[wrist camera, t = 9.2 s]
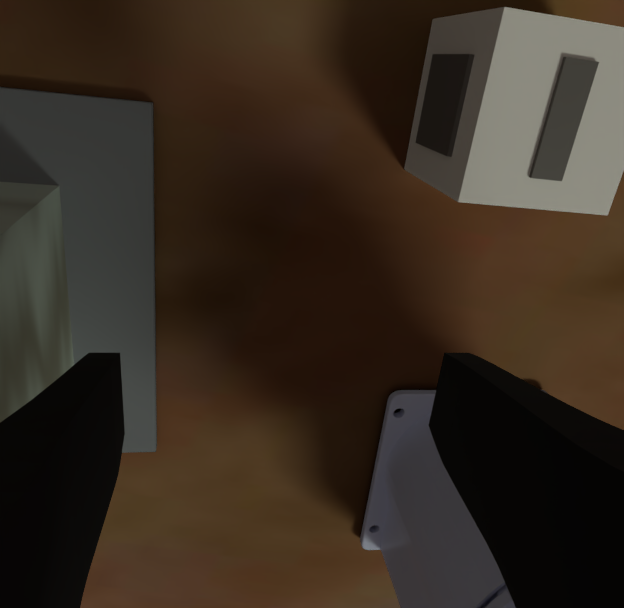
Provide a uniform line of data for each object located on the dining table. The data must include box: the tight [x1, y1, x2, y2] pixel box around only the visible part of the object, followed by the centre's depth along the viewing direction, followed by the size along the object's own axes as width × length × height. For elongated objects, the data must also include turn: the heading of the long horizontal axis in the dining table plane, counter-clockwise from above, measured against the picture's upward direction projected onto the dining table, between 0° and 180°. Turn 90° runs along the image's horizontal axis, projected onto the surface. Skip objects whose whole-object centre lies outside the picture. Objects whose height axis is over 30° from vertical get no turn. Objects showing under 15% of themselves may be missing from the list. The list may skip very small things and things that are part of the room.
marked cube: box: [404, 7, 624, 215], centre depth 17 cm, size 5×5×5 cm
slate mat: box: [0, 87, 157, 452], centre depth 19 cm, size 14×10×1 cm
